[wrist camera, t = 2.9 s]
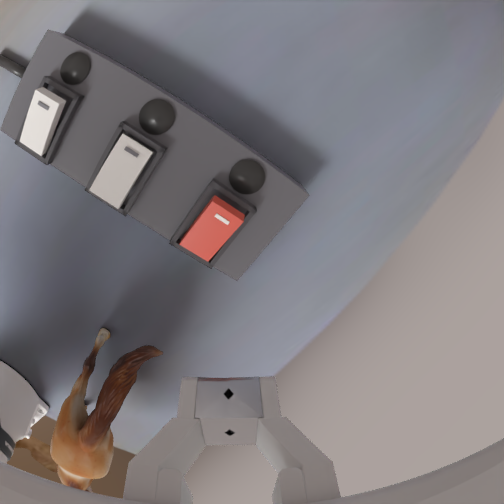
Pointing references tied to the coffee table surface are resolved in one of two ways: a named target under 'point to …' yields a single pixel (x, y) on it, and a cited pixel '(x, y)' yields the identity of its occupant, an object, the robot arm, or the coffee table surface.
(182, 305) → the coffee table surface
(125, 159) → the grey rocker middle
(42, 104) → the grey rocker end
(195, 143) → the grey switch panel
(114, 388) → the horse figurine
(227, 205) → the red rocker
